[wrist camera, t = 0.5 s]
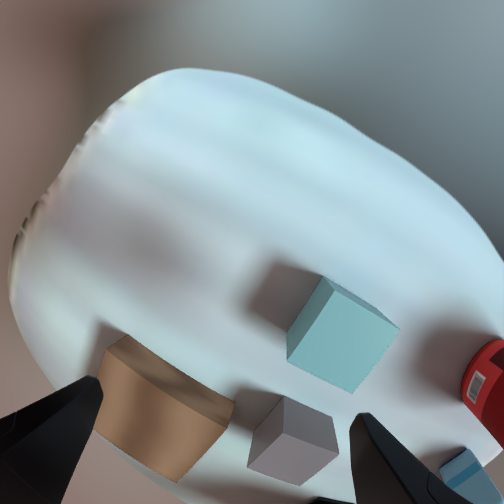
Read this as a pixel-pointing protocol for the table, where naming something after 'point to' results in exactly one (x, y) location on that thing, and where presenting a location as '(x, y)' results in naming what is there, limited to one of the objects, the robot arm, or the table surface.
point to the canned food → (487, 388)
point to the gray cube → (293, 442)
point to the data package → (470, 479)
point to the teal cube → (338, 336)
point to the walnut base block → (157, 410)
